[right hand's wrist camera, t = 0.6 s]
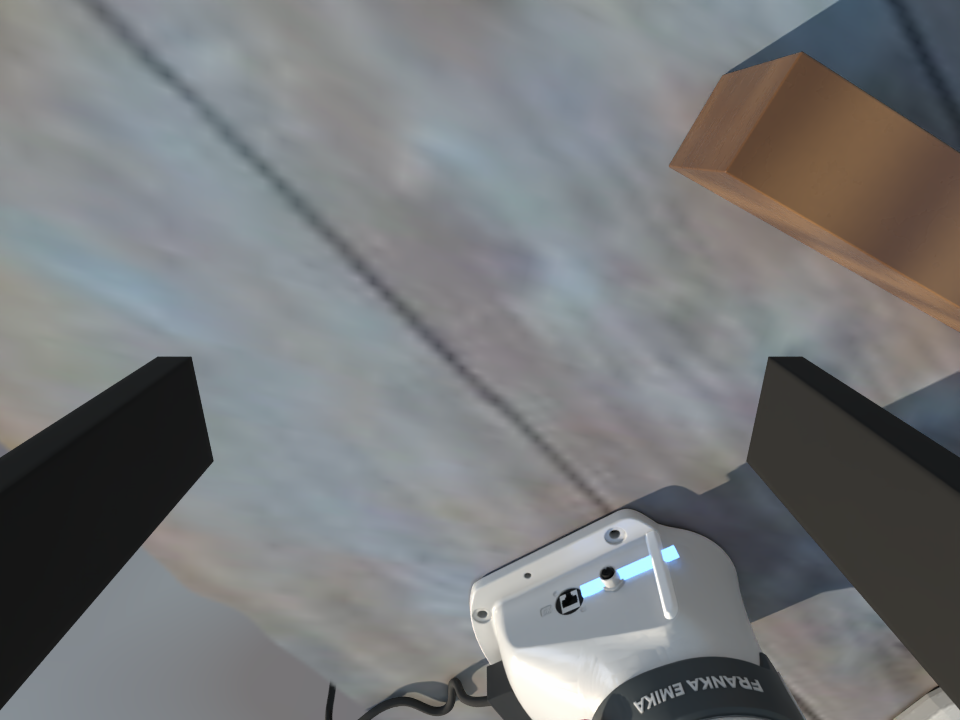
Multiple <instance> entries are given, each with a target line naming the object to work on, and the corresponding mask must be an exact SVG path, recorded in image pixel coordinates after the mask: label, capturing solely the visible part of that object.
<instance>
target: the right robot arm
mask: <svg viewBox="0 0 960 720" xmlns="http://www.w3.org/2000/svg"><path fill="white" fill-rule="evenodd" d="M212 462H213V456H212V451H211V447H210V442H209V437H208V432H207V428H206V423H205V418H204V414H203V409H202V404H201V399H200V395H199V390H198V385H197V381H196V376H195V371H194V366H193V362H192V357H157V358H155V359H153V360H152V361H150V362H149V363H147V364H146V365H144V366H142V367H141V368H139V369H138V370H136V371H135V372H133V373H132V374H130V375H128V376H127V377H125V378H124V379H122V380H121V381H119V382H118V383H116V384H114V385H113V386H111V387H110V388H108V389H107V390H105V391H103V392H102V393H100V394H99V395H97V396H96V397H94V398H93V399H91V400H89V401H88V402H86V403H85V404H83V405H82V406H80V407H79V408H77V409H75V410H74V411H72V412H71V413H69V414H68V415H66V416H64V417H63V418H61V419H60V420H58V421H57V422H55V423H54V424H52V425H50V426H49V427H47V428H46V429H44V430H43V431H41V432H40V433H38V434H36V435H35V436H33V437H32V438H30V439H29V440H27V441H25V442H24V443H22V444H21V445H19V446H18V447H16V448H15V449H13V450H11V451H10V452H8V453H7V454H5V455H4V456H2V457H1V458H0V710H1V709H2V707H3V706H4V705H5V704H6V703H7V702H8V700H9V699H10V698H11V697H12V696H13V695H14V693H15V692H16V691H17V690H18V689H19V688H20V686H21V685H22V684H23V683H24V682H25V681H26V679H27V678H28V677H29V676H30V675H31V674H32V672H33V671H34V670H35V669H36V668H37V667H38V665H39V664H40V663H41V662H42V661H43V660H44V658H45V657H46V656H47V655H48V654H49V653H50V651H51V650H52V649H53V648H54V647H55V646H56V644H57V643H58V642H59V641H60V640H61V639H62V637H63V636H64V635H65V634H66V633H67V632H68V630H69V629H70V628H71V627H72V626H73V625H74V623H75V622H76V621H77V620H78V619H79V618H80V616H81V615H82V614H83V613H84V612H85V611H86V609H87V608H88V607H89V606H90V605H91V604H92V602H93V601H94V600H95V599H96V598H97V597H98V595H99V594H100V593H101V592H102V591H103V590H104V588H105V587H106V586H107V585H108V584H109V583H110V581H111V580H112V579H113V578H114V577H115V576H116V574H117V573H118V572H119V571H120V570H121V569H122V567H123V566H124V565H125V564H126V563H127V562H128V560H129V559H130V558H131V557H132V556H133V555H134V553H135V552H136V551H137V550H138V549H139V548H140V546H141V545H142V544H143V543H144V542H145V541H146V539H147V538H148V537H149V536H150V535H151V534H152V532H153V531H154V530H155V529H156V528H157V527H158V525H159V524H160V523H161V522H162V521H163V520H164V518H165V517H166V516H167V515H168V514H169V513H170V511H171V510H172V509H173V508H174V507H175V506H176V504H177V503H178V502H179V501H180V500H181V499H182V497H183V496H184V495H185V494H186V493H187V492H188V490H189V489H190V488H191V487H192V486H193V485H194V483H195V482H196V481H197V480H198V479H199V478H200V476H201V475H202V474H203V473H204V472H205V471H206V469H207V468H208V467H209V466H210V465H211V464H212ZM747 462H748V464H749V465H750V466H751V467H752V468H753V469H754V471H755V472H756V473H757V474H758V475H759V476H760V478H761V479H762V480H763V481H764V482H765V483H766V485H767V486H768V487H769V488H770V489H771V490H772V492H773V493H774V494H775V495H776V496H777V497H778V499H779V500H780V501H781V502H782V503H783V504H784V506H785V507H786V508H787V509H788V510H789V511H790V513H791V514H792V515H793V516H794V517H795V518H796V520H797V521H798V522H799V523H800V524H801V525H802V527H803V528H804V529H805V530H806V531H807V532H808V534H809V535H810V536H811V537H812V538H813V539H814V541H815V542H816V543H817V544H818V545H819V546H820V548H821V549H822V550H823V551H824V552H825V553H826V555H827V556H828V557H829V558H830V559H831V560H832V562H833V563H834V564H835V565H836V566H837V567H838V569H839V570H840V571H841V572H842V573H843V574H844V576H845V577H846V578H847V579H848V580H849V581H850V583H851V584H852V585H853V586H854V587H855V588H856V590H857V591H858V592H859V593H860V594H861V595H862V597H863V598H864V599H865V600H866V601H867V602H868V604H869V605H870V606H871V607H872V608H873V609H874V611H875V612H876V613H877V614H878V615H879V616H880V618H881V619H882V620H883V621H884V622H885V623H886V625H887V626H888V627H889V628H890V629H891V630H892V632H893V633H894V634H895V635H896V636H897V637H898V639H899V640H900V641H901V642H902V643H903V644H904V646H905V647H906V648H907V649H908V650H909V651H910V653H911V654H912V655H913V656H914V657H915V658H916V660H917V661H918V662H919V663H920V664H921V665H922V667H923V668H924V669H925V670H926V671H927V672H928V674H929V675H930V676H931V677H932V678H933V679H934V681H935V682H936V683H937V684H938V685H939V686H940V688H941V689H942V690H943V691H944V692H945V693H946V695H947V696H948V697H949V698H950V699H951V700H952V702H953V703H954V704H955V705H956V706H957V707H958V709H959V710H960V457H958V456H956V455H955V454H953V453H952V452H950V451H949V450H947V449H945V448H944V447H942V446H941V445H939V444H938V443H936V442H935V441H933V440H931V439H930V438H928V437H927V436H925V435H924V434H922V433H920V432H919V431H917V430H916V429H914V428H913V427H911V426H910V425H908V424H906V423H905V422H903V421H902V420H900V419H899V418H897V417H896V416H894V415H892V414H891V413H889V412H888V411H886V410H885V409H883V408H881V407H880V406H878V405H877V404H875V403H874V402H872V401H871V400H869V399H867V398H866V397H864V396H863V395H861V394H860V393H858V392H857V391H855V390H853V389H852V388H850V387H849V386H847V385H846V384H844V383H842V382H841V381H839V380H838V379H836V378H835V377H833V376H832V375H830V374H828V373H827V372H825V371H824V370H822V369H821V368H819V367H818V366H816V365H814V364H813V363H811V362H810V361H808V360H807V359H805V358H803V357H768V362H767V366H766V371H765V376H764V381H763V385H762V390H761V395H760V399H759V404H758V409H757V414H756V418H755V423H754V428H753V432H752V437H751V442H750V447H749V451H748V456H747Z"/></svg>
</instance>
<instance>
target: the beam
mask: <svg viewBox="0 0 960 720" xmlns="http://www.w3.org/2000/svg"><path fill="white" fill-rule="evenodd" d="M669 167H670V168H672V169H674V170H675V171H677V172H679V173H681V174H682V175H684V176H686V177H688V178H689V179H691V180H693V181H695V182H696V183H698V184H700V185H702V186H703V187H705V188H707V189H709V190H710V191H712V192H714V193H716V194H718V195H719V196H721V197H723V198H725V199H726V200H728V201H730V202H732V203H733V204H735V205H737V206H739V207H740V208H742V209H744V210H746V211H747V212H749V213H751V214H753V215H754V216H756V217H758V218H760V219H761V220H763V221H765V222H767V223H769V224H770V225H772V226H774V227H776V228H777V229H779V230H781V231H783V232H784V233H786V234H788V235H790V236H791V237H793V238H795V239H797V240H798V241H800V242H802V243H804V244H805V245H807V246H809V247H811V248H812V249H814V250H816V251H818V252H820V253H821V254H823V255H825V256H827V257H828V258H830V259H832V260H834V261H835V262H837V263H839V264H841V265H842V266H844V267H846V268H848V269H849V270H851V271H853V272H855V273H856V274H858V275H860V276H862V277H863V278H865V279H867V280H869V281H870V282H872V283H874V284H876V285H878V286H879V287H881V288H883V289H885V290H886V291H888V292H890V293H892V294H893V295H895V296H897V297H899V298H900V299H902V300H904V301H906V302H907V303H909V304H911V305H913V306H914V307H916V308H918V309H920V310H921V311H923V312H925V313H927V314H929V315H930V316H932V317H934V318H936V319H937V320H939V321H941V322H943V323H944V324H946V325H948V326H950V327H951V328H953V329H955V330H957V331H958V332H960V152H958V151H956V150H955V149H953V148H952V147H950V146H949V145H947V144H946V143H944V142H942V141H941V140H939V139H938V138H936V137H935V136H933V135H932V134H930V133H928V132H927V131H925V130H924V129H922V128H921V127H919V126H918V125H916V124H914V123H913V122H911V121H910V120H908V119H907V118H905V117H904V116H902V115H900V114H899V113H897V112H896V111H894V110H893V109H891V108H890V107H888V106H886V105H885V104H883V103H882V102H880V101H879V100H877V99H876V98H874V97H872V96H871V95H869V94H868V93H866V92H865V91H863V90H862V89H860V88H858V87H857V86H855V85H854V84H852V83H851V82H849V81H848V80H846V79H844V78H843V77H841V76H840V75H838V74H837V73H835V72H834V71H832V70H830V69H829V68H827V67H826V66H824V65H823V64H821V63H820V62H818V61H816V60H815V59H813V58H812V57H810V56H809V55H807V54H806V53H804V52H798V53H795V54H792V55H788V56H785V57H781V58H778V59H775V60H771V61H768V62H765V63H761V64H758V65H755V66H751V67H748V68H744V69H741V70H738V71H734V72H731V73H728V74H724V75H723V76H722V77H721V79H720V80H719V82H718V84H717V86H716V87H715V89H714V91H713V92H712V94H711V96H710V97H709V99H708V101H707V102H706V104H705V106H704V107H703V109H702V111H701V112H700V114H699V116H698V118H697V119H696V121H695V123H694V124H693V126H692V128H691V129H690V131H689V133H688V134H687V136H686V138H685V139H684V141H683V143H682V144H681V146H680V148H679V150H678V151H677V153H676V155H675V156H674V158H673V160H672V161H671V163H670V165H669Z"/></svg>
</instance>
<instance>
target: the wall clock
mask: <svg viewBox="0 0 960 720" xmlns="http://www.w3.org/2000/svg"><path fill="white" fill-rule="evenodd" d="M893 720H960V710H959V709H958V707H957V706H956V705H955V704H954V703H953V702H952V700H951V699H950V698H949V697H948V696H947V695H946V693H945V692H944V691H943V690H942V689H941V688H940V687H939V688H937V689H936V690H934V691H932V692H930V693H928V694H926V695H925V696H923V697H922V698H921V699H919V700H918V701H917V702H915V703H914V704H913V705H911V706H910V707H909V708H907V709H906V710H905V711H903V712H902V713H901V714H899V715H898V716H897V717H896V718H894V719H893Z"/></svg>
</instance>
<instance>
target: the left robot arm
mask: <svg viewBox="0 0 960 720" xmlns="http://www.w3.org/2000/svg"><path fill="white" fill-rule="evenodd" d="M613 530H617V531H616V532H613V533H611V531H613ZM470 613H471V621H472V626H473V629H474V633H475V636H476V638H477V641H478V643H479V645H480V647H481V649H482V651H483V653H484V655H485V657H486V658H487V660H488V661H489V663H490V664H491V665H490V666H487V696H483V697H472V696H469V695H467V694H466V693H465V691H464V689H463V686H462V684H461V682H460V680H458V679H457V678H453V679H451V680H450V682H449V685H448V700H447V703H446V704H445V705H444V706H441V707H434V706H430V705H428V704H425V703H423V702H421V701H419V700H416V699H414V698H410V697H397V698H392V699H389V700H387V701H384V702H382V703H380V704H378V705H377V706H375V707H374V708H372V709H371V710H369V711H368V712H367V713H366V714H364V715H363V716H362V717H361V718H359V719H358V720H371V719H372V718H373V717H375V716H376V715H378V714H379V713H381V712H383V711H385V710H387V709H390V708H392V707H397V706H408V707H412V708H415V709H417V710H419V711H421V712H423V713H426V714H428V715H432V716H441V715H445V714H447V713H448V712H450V711H451V710H452V708H453V706H454V704H455V697H456V694H457V696H458V698H459V700H460V701H461V702H463V703H464V704H466V705H469V706H473V707H484V706H492V707H493V708H494V709H495V710H496V712H497V713H498V714H499V715H500V716H501V717H502V718H503V720H806V719H805V717H804V715H803V713H802V712H801V710H800V708H799V706H798V704H797V702H796V701H795V699H794V697H793V695H792V694H791V692H790V690H789V688H788V687H787V685H786V683H785V682H784V680H783V678H782V676H781V675H780V673H779V672H777V671H776V670H775V668H774V666H773V665H772V663H771V662H770V660H769V658H768V657H767V656H766V655H765V654H764V653H762V650H761V648H760V646H759V644H758V641H757V639H756V636H755V634H754V631H753V629H752V626H751V624H750V621H749V619H748V616H747V613H746V610H745V607H744V603H743V600H742V596H741V593H740V588H739V582H738V576H737V572H736V569H735V567H734V564H733V562H732V561H731V559H730V558H729V556H728V555H727V554H726V552H725V551H724V550H723V549H722V548H721V547H719V546H718V545H717V544H716V543H714V542H713V541H711V540H710V539H708V538H706V537H704V536H702V535H700V534H697V533H695V532H692V531H688V530H684V529H679V528H674V527H668V526H664V525H661V524H658V523H656V522H655V521H653V520H652V519H650V518H648V517H647V516H645V515H643V514H642V513H640V512H638V511H635V510H632V509H622V510H619V511H617V512H615V513H613V514H611V515H609V516H607V517H605V518H603V519H601V520H599V521H597V522H594V523H592V524H590V525H588V526H586V527H584V528H582V529H580V530H578V531H576V532H574V533H572V534H570V535H568V536H566V537H564V538H562V539H560V540H558V541H556V542H554V543H552V544H550V545H548V546H546V547H544V548H542V549H540V550H538V551H536V552H534V553H532V554H530V555H528V556H526V557H524V558H522V559H520V560H518V561H516V562H514V563H512V564H510V565H507V566H505V567H503V568H501V569H499V570H497V571H495V572H493V573H491V574H489V575H487V576H485V577H483V578H481V579H480V580H478V581H477V582H475V583H474V585H473V587H472V591H471V595H470ZM335 692H336V686H334V685H333V684H332V683H331V682H330V685H329V692H328V698H327V704H326V711H325V720H332V714H333V705H334V699H335Z"/></svg>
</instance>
